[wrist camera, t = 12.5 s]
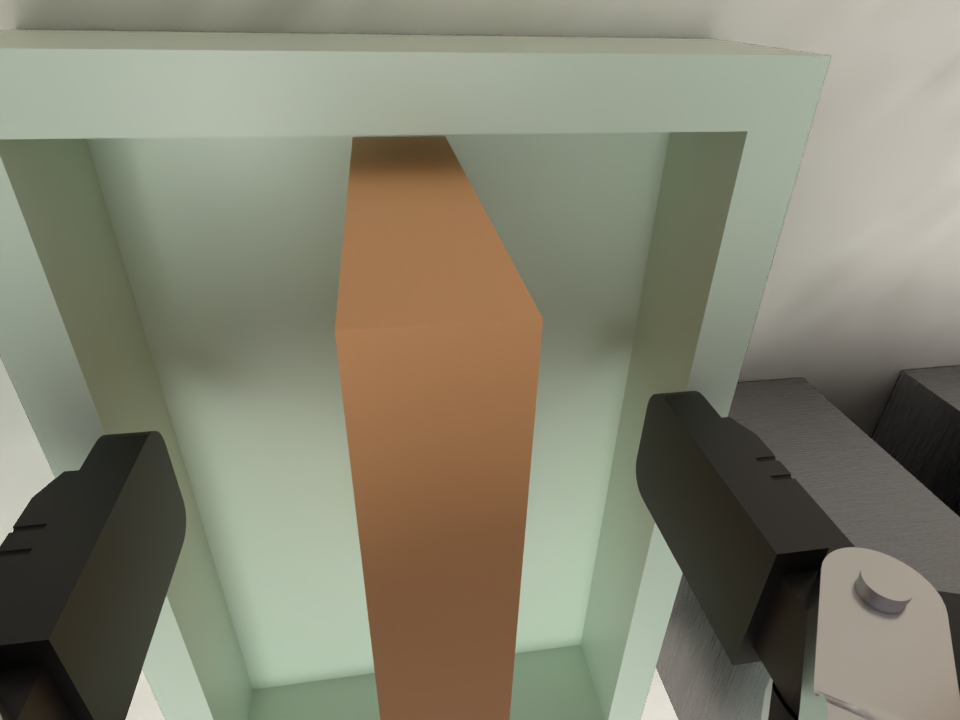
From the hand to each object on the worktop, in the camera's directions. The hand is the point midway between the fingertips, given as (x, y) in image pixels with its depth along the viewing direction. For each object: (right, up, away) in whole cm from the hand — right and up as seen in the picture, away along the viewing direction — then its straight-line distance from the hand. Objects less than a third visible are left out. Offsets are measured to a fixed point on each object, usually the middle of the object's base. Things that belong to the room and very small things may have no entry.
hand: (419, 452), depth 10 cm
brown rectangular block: (-1, +1, +3) cm, 3 cm away
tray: (-1, 0, +5) cm, 5 cm away
